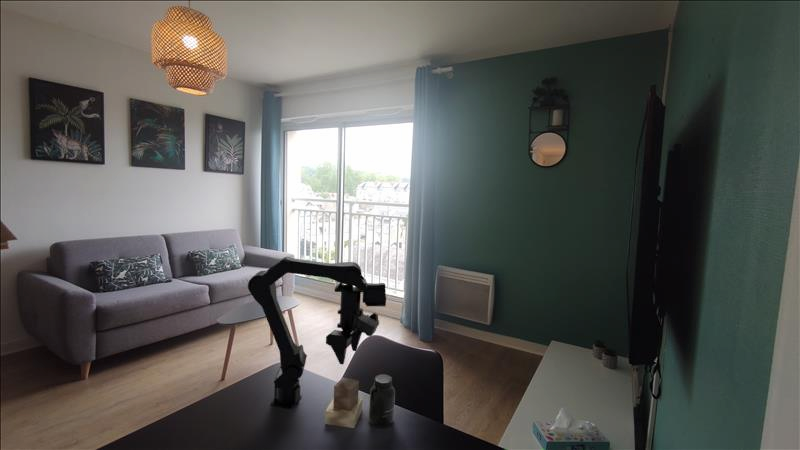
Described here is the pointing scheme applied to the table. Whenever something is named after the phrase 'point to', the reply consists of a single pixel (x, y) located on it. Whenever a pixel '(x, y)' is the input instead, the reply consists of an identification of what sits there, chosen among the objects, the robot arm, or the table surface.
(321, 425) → the table surface
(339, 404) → the walnut block
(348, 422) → the oak block
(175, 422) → the table surface
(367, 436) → the table surface
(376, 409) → the supplement bottle
